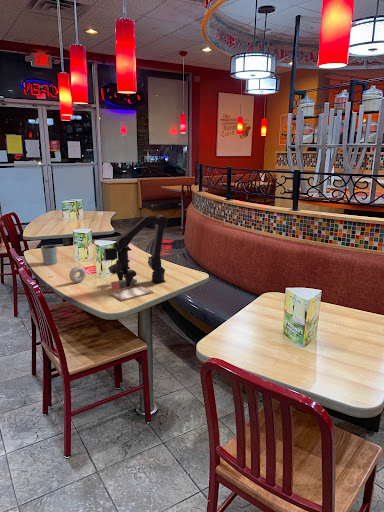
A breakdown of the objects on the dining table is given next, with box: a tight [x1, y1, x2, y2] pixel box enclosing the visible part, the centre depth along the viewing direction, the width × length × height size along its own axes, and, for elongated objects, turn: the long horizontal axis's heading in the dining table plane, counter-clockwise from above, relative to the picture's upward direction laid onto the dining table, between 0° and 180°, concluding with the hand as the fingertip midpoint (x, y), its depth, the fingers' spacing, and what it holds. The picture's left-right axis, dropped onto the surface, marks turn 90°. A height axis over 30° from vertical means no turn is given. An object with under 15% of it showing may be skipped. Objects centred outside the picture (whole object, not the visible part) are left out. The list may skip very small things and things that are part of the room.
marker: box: [110, 278, 138, 291], centre depth 218 cm, size 15×4×4 cm, turn 128°
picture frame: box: [109, 285, 155, 302], centre depth 208 cm, size 20×13×1 cm, turn 128°
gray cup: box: [40, 244, 58, 266], centre depth 259 cm, size 10×10×12 cm
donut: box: [68, 265, 86, 284], centre depth 223 cm, size 10×3×10 cm, turn 133°
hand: (124, 284), depth 218 cm, fingers open, 8 cm apart
